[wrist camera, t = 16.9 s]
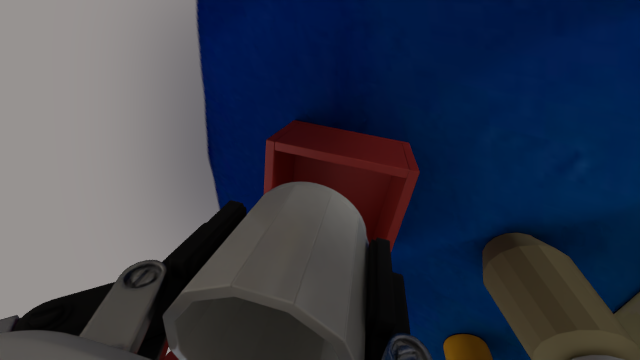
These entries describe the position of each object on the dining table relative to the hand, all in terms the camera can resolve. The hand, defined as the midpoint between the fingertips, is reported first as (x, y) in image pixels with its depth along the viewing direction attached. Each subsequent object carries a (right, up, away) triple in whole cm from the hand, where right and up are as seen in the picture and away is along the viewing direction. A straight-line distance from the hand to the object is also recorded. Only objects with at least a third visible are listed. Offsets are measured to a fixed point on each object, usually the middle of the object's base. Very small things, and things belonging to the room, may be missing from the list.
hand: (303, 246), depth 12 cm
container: (0, 0, +1) cm, 1 cm away
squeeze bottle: (+23, -5, +17) cm, 29 cm away
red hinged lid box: (+3, +2, +19) cm, 19 cm away
